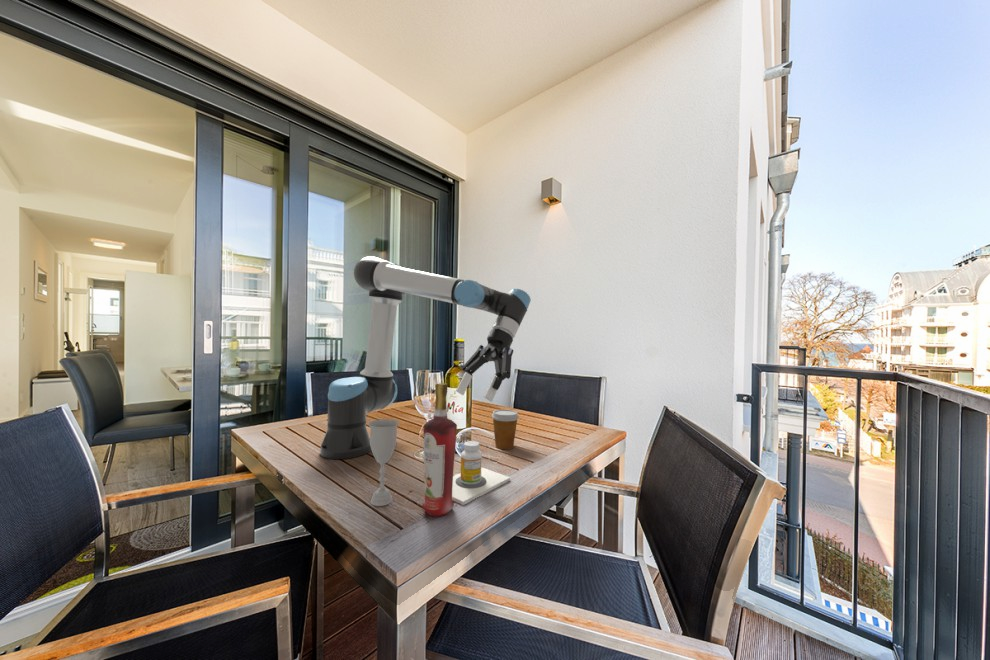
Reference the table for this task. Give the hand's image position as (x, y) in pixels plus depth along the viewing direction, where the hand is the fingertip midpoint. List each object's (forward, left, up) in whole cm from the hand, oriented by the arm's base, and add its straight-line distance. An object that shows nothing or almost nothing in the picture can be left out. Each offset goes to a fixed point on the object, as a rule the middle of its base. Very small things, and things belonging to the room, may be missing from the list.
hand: (472, 396), depth 98 cm
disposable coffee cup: (-22, +11, -22) cm, 33 cm away
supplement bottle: (+9, +1, -21) cm, 22 cm away
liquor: (+22, -6, -22) cm, 32 cm away
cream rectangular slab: (+9, +1, -21) cm, 23 cm away
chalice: (+18, -20, -22) cm, 34 cm away
